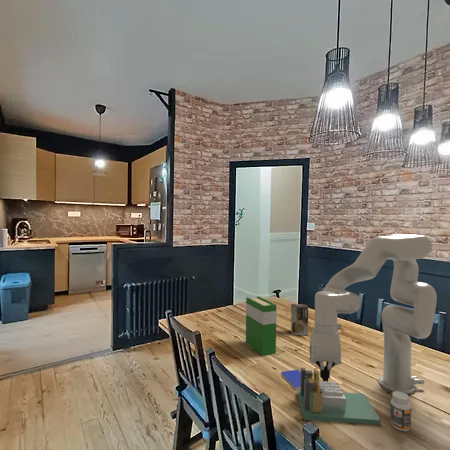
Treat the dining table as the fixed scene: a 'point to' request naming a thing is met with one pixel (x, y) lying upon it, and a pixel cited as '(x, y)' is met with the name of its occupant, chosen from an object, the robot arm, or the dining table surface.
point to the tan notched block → (316, 392)
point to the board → (355, 411)
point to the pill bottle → (400, 411)
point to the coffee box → (299, 319)
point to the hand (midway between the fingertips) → (324, 379)
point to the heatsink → (332, 397)
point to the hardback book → (261, 325)
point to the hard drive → (292, 378)
